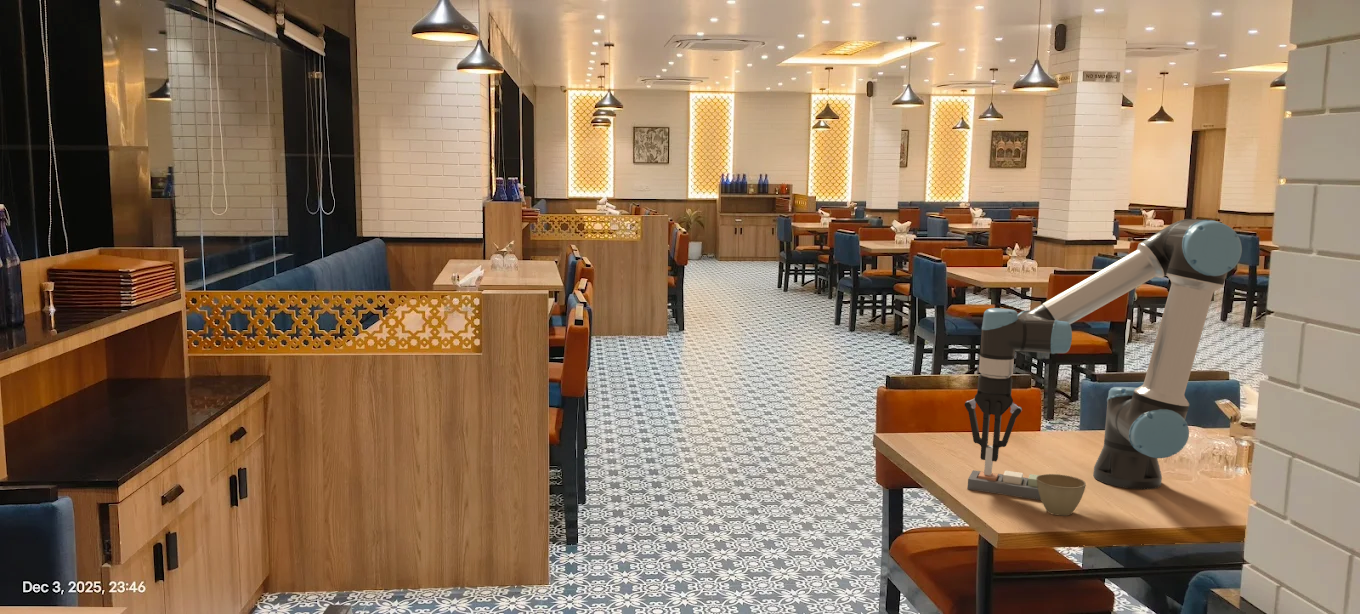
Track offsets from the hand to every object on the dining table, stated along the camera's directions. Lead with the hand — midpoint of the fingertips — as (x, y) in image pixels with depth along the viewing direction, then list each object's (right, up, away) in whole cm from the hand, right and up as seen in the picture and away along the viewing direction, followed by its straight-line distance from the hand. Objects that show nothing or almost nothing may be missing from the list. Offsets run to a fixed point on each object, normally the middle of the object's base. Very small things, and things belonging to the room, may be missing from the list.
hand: (987, 473), depth 229 cm
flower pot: (+10, -6, -16) cm, 20 cm away
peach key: (0, -3, 0) cm, 3 cm away
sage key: (+10, -3, -4) cm, 11 cm away
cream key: (+5, -2, -2) cm, 6 cm away
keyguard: (+5, -4, -2) cm, 6 cm away
